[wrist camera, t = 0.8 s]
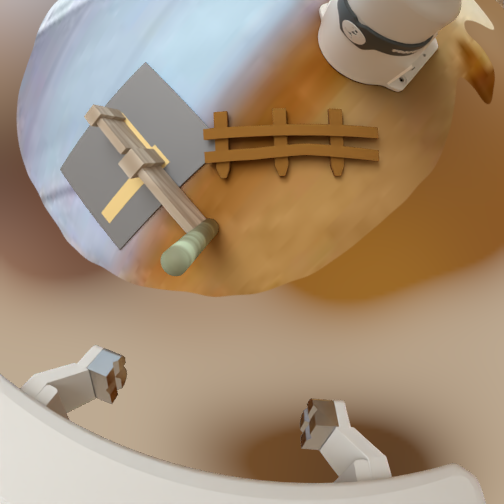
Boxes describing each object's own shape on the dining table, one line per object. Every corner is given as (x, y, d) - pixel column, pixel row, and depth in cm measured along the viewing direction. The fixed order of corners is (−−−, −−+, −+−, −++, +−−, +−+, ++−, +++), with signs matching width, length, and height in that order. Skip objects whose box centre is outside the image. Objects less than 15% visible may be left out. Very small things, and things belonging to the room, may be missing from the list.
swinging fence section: (153, 148, 39) (95, 148, 25) (222, 229, 42) (192, 265, 28) (141, 161, 40) (81, 167, 26) (208, 240, 43) (174, 281, 29)
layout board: (146, 62, 35) (145, 62, 35) (224, 145, 39) (224, 145, 39) (61, 169, 42) (59, 169, 42) (120, 248, 46) (119, 249, 46)
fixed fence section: (119, 109, 38) (93, 104, 31) (149, 145, 40) (125, 144, 32) (110, 120, 38) (84, 116, 31) (140, 156, 40) (115, 157, 33)
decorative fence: (205, 114, 37) (209, 178, 40) (202, 112, 35) (205, 179, 39) (372, 113, 35) (374, 176, 38) (376, 111, 33) (378, 177, 36)
